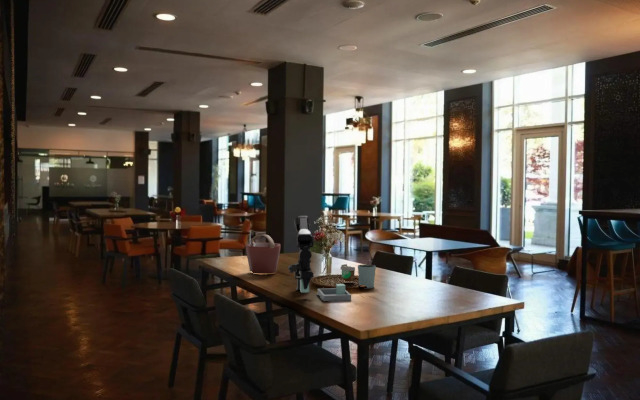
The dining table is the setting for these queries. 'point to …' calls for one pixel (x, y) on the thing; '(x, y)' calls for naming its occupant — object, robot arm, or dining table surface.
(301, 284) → the block
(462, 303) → the dining table surface
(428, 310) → the dining table surface
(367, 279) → the grey green cylinder
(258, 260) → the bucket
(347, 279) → the food container
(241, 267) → the dining table surface
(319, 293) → the tray
